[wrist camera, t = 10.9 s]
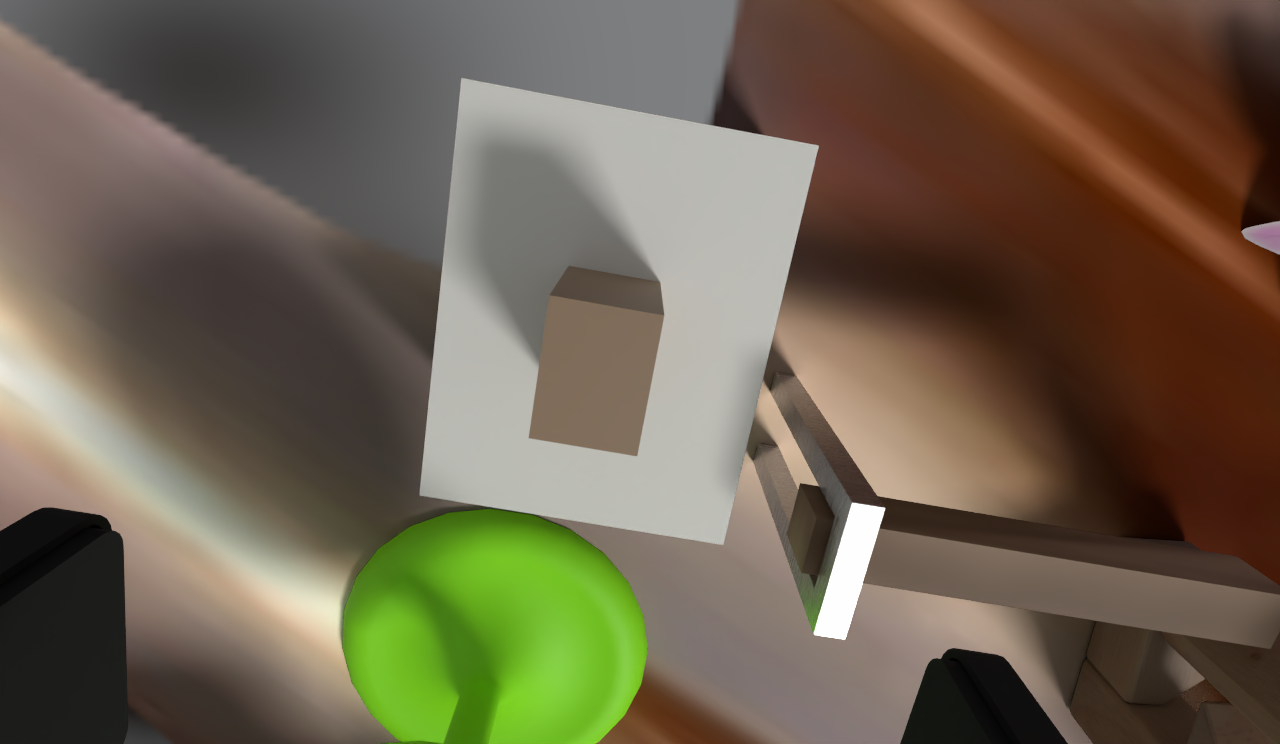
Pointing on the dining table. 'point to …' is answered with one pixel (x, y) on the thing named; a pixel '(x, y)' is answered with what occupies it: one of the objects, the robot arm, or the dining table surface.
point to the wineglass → (493, 633)
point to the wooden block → (1175, 687)
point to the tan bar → (1052, 570)
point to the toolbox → (847, 497)
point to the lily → (1265, 236)
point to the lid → (606, 310)
